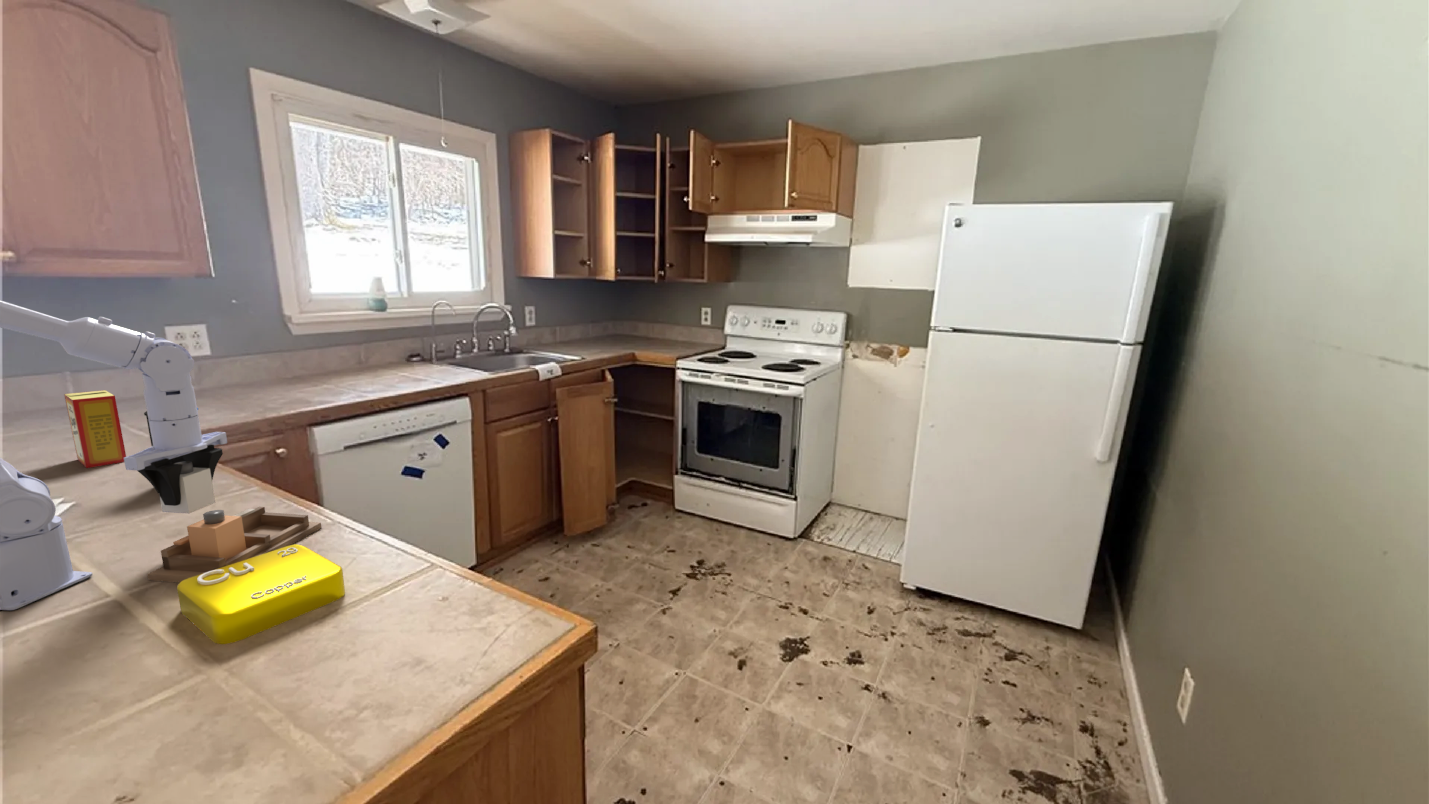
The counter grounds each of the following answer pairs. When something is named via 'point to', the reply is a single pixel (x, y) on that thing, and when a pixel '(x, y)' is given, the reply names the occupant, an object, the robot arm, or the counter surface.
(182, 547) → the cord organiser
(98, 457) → the baking soda box
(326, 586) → the element tile
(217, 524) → the orange plug
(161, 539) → the counter surface
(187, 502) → the grey plug
